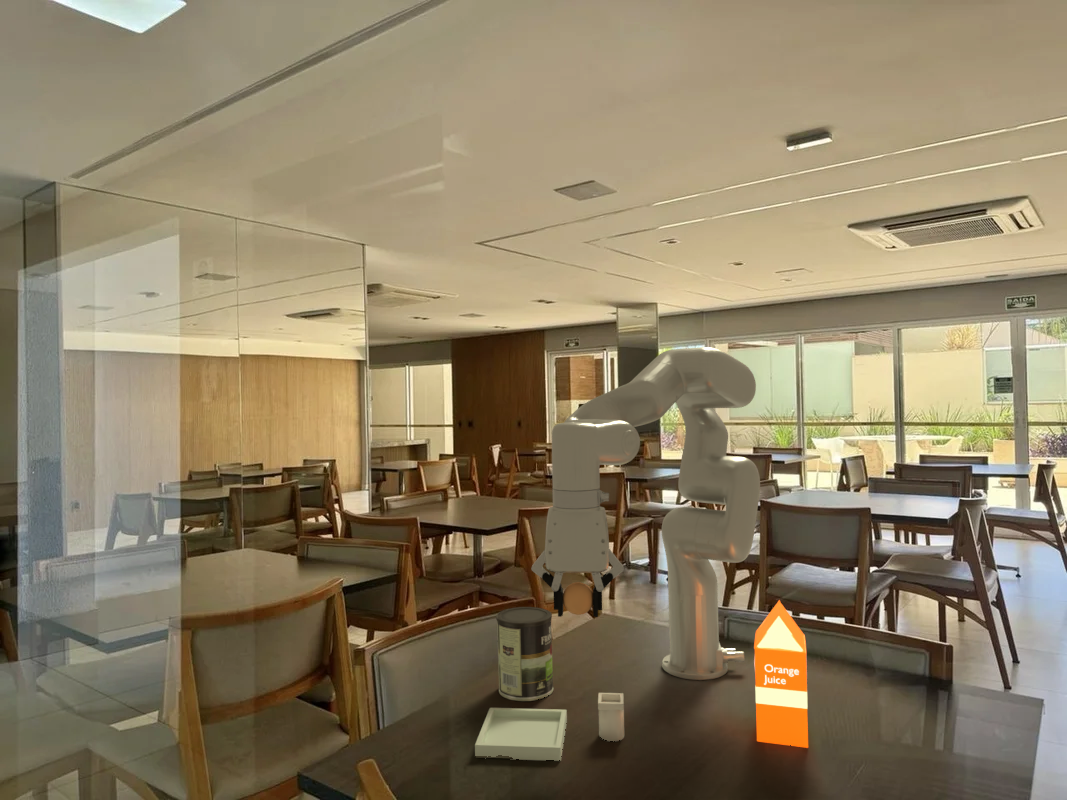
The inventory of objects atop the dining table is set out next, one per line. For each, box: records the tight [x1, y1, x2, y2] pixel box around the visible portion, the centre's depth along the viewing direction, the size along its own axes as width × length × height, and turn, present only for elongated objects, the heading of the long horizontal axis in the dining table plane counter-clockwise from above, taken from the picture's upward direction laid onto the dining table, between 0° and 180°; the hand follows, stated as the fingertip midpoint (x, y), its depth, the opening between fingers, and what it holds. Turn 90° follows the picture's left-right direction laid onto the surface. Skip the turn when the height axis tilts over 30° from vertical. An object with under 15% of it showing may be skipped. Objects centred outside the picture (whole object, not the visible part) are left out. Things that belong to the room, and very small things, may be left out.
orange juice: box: [753, 599, 809, 749], centre depth 116 cm, size 8×9×20 cm
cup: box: [597, 692, 625, 743], centre depth 116 cm, size 4×4×6 cm
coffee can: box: [495, 606, 554, 702], centre depth 135 cm, size 10×10×14 cm
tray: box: [474, 707, 568, 762], centre depth 115 cm, size 13×13×2 cm
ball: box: [563, 581, 593, 616], centre depth 115 cm, size 5×5×5 cm
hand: (578, 613), depth 115 cm, fingers closed on ball, 4 cm apart
